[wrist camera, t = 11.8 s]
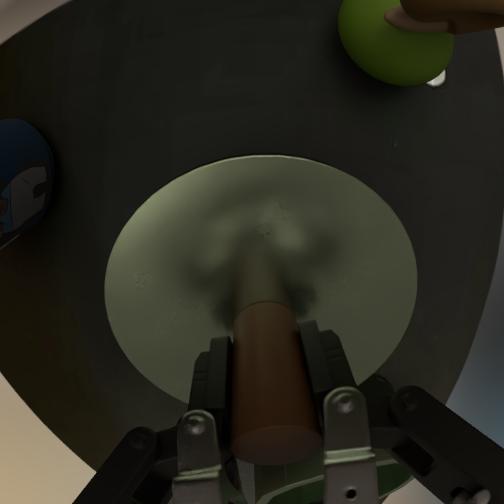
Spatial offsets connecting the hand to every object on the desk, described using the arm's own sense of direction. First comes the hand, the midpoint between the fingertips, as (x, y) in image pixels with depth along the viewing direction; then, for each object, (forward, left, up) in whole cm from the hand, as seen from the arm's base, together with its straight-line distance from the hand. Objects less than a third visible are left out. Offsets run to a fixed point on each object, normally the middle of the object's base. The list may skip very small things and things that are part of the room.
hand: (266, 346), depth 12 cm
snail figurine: (-9, -12, -6) cm, 16 cm away
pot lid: (0, 0, -2) cm, 2 cm away
